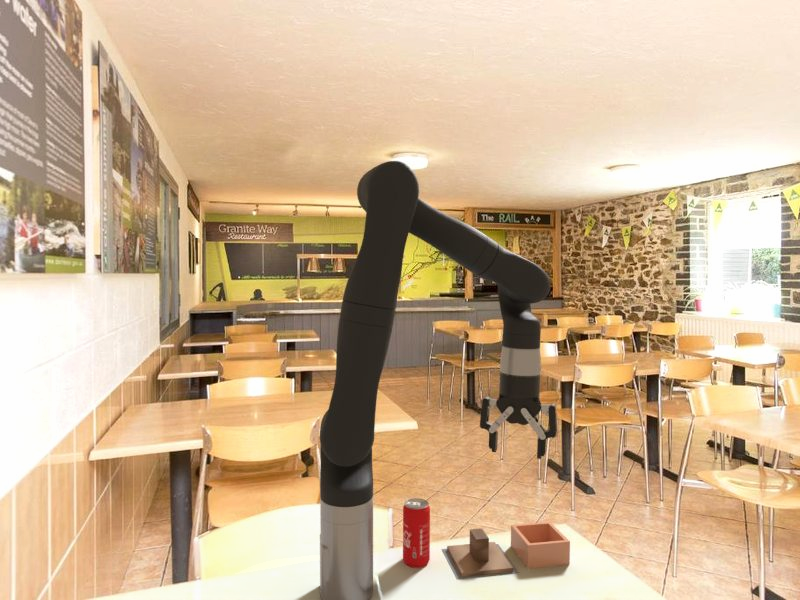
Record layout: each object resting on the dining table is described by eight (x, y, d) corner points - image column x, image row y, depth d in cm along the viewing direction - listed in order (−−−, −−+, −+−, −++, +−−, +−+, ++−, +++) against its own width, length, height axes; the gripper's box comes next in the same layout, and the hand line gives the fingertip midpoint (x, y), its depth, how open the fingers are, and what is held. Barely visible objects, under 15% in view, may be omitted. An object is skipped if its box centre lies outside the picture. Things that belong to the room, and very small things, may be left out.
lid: (461, 577, 100) (461, 548, 100) (447, 549, 110) (447, 524, 109) (513, 571, 102) (513, 544, 101) (494, 545, 112) (494, 520, 111)
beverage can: (427, 572, 102) (427, 510, 102) (400, 569, 104) (400, 507, 103) (431, 558, 108) (431, 498, 107) (405, 555, 109) (405, 496, 108)
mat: (457, 582, 99) (457, 579, 99) (441, 552, 110) (441, 549, 110) (519, 575, 101) (519, 572, 101) (498, 546, 112) (498, 543, 112)
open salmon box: (527, 571, 103) (528, 545, 103) (510, 548, 111) (511, 524, 111) (569, 566, 105) (569, 541, 104) (549, 545, 113) (549, 521, 113)
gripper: (479, 370, 103) (475, 455, 103) (557, 377, 98) (553, 466, 98) (486, 364, 110) (483, 444, 110) (560, 370, 105) (556, 453, 106)
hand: (516, 454), depth 104 cm, fingers open, 8 cm apart
